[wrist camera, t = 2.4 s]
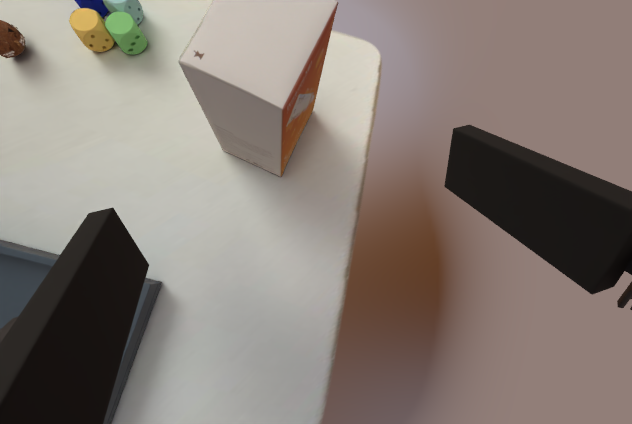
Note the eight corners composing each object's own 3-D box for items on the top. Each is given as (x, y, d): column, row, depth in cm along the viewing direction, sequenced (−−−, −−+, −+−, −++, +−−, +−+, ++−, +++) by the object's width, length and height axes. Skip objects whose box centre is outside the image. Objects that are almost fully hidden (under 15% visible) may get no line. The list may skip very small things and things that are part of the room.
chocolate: (33, 65, 27) (-8, 32, 23) (6, 65, 27) (-40, 32, 23) (35, 36, 28) (-5, -1, 24) (8, 36, 27) (-37, -2, 23)
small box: (281, 178, 28) (283, 112, 16) (221, 150, 28) (172, 60, 15) (315, 109, 30) (341, -2, 17) (258, 82, 30) (241, -51, 17)
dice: (101, -15, 29) (55, 29, 28) (84, -42, 27) (32, 5, 25) (168, 30, 29) (125, 76, 28) (157, 8, 27) (109, 57, 26)
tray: (-159, 390, 22) (-210, 405, 19) (-69, 221, 24) (-105, 217, 22) (102, 447, 23) (83, 467, 21) (162, 282, 26) (150, 284, 23)
